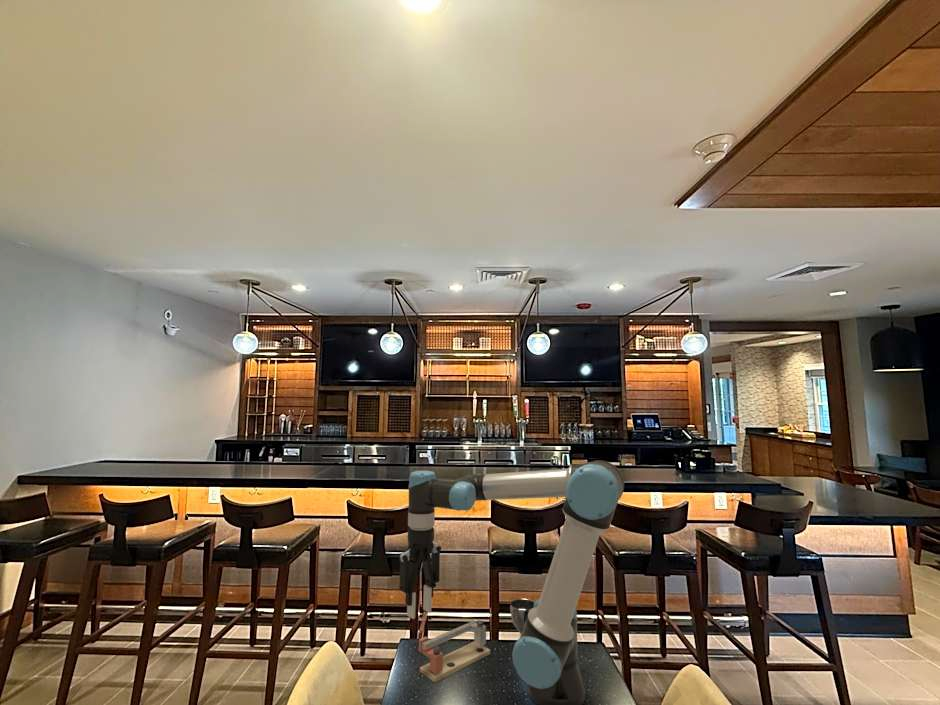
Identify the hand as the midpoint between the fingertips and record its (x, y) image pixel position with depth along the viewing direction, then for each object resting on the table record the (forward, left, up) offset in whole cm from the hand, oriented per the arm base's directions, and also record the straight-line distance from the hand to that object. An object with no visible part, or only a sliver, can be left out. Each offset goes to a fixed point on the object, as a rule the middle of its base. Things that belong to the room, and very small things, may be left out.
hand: (419, 613), depth 126 cm
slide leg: (+3, -6, -17) cm, 19 cm away
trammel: (+2, -15, -18) cm, 23 cm away
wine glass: (-9, -33, -19) cm, 40 cm away
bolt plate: (+2, -15, -19) cm, 24 cm away
